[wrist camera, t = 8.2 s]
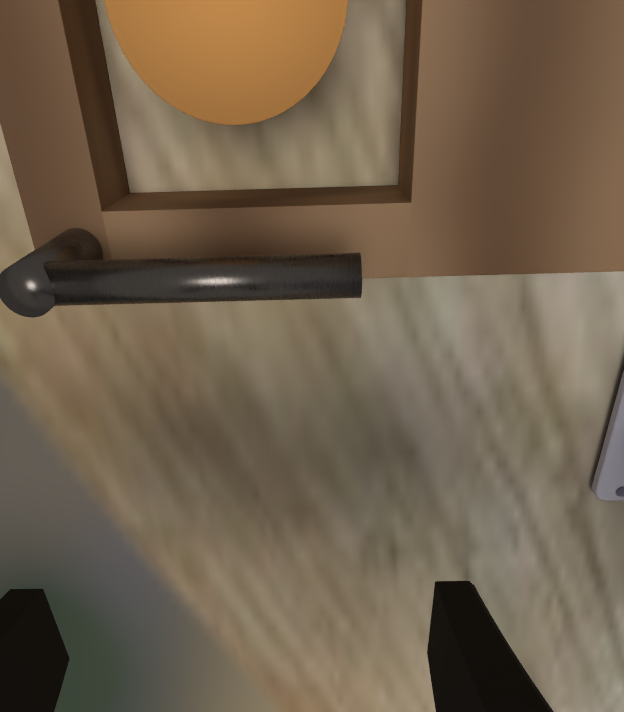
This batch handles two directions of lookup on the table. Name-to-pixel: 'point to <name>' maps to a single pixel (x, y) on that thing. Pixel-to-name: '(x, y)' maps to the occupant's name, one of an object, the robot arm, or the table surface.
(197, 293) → the hook
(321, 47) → the orange rounded capsule
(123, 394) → the table surface
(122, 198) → the brown square frame
